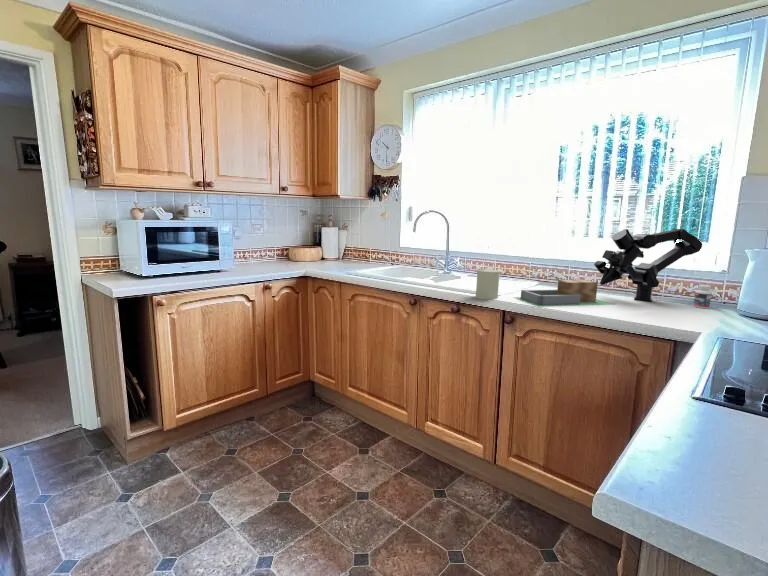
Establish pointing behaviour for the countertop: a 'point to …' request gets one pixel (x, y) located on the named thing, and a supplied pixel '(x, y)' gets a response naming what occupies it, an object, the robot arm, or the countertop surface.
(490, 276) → the can
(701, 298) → the pill bottle
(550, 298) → the grey tray
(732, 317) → the countertop surface
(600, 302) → the mat
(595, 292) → the walnut block
